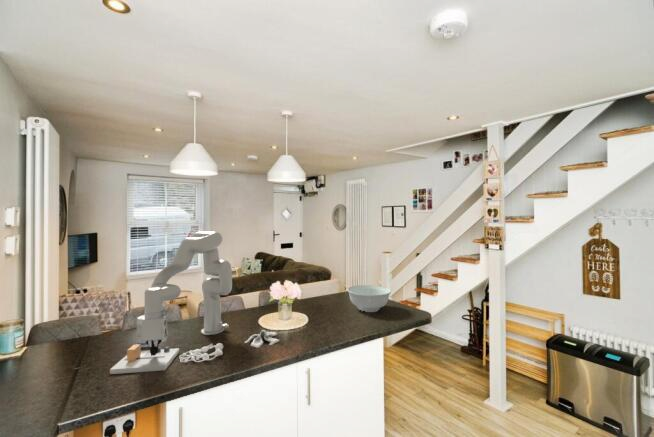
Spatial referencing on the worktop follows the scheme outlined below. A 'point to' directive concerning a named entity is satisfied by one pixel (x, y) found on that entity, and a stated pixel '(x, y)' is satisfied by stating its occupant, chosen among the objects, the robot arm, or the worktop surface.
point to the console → (146, 361)
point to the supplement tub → (139, 326)
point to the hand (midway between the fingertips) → (154, 354)
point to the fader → (134, 352)
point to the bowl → (368, 297)
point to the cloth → (262, 338)
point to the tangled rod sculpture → (203, 356)
